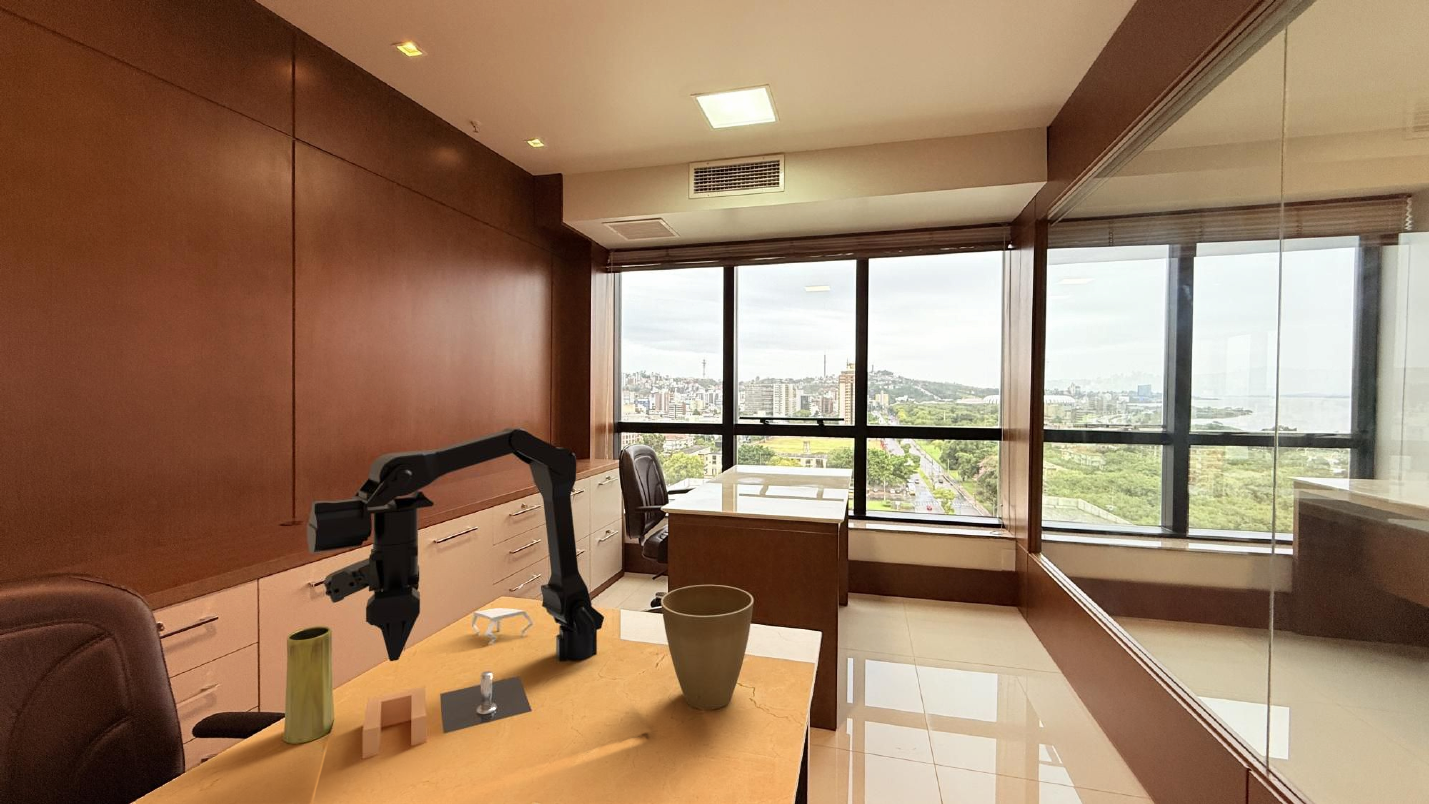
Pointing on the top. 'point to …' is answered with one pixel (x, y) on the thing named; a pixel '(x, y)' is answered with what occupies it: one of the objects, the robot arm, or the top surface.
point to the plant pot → (707, 640)
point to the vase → (309, 685)
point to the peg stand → (483, 703)
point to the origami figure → (498, 619)
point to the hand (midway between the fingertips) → (395, 647)
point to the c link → (394, 717)
